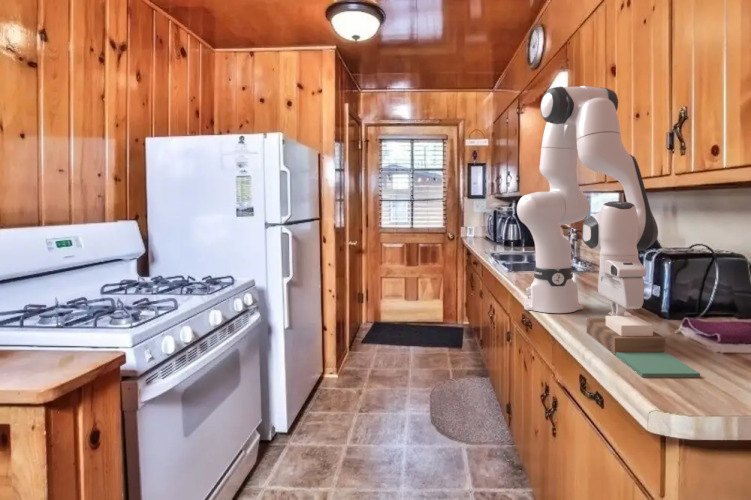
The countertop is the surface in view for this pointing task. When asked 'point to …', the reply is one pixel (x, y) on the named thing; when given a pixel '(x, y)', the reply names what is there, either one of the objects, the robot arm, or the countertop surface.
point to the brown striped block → (623, 339)
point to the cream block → (629, 325)
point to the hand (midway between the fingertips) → (618, 318)
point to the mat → (656, 364)
